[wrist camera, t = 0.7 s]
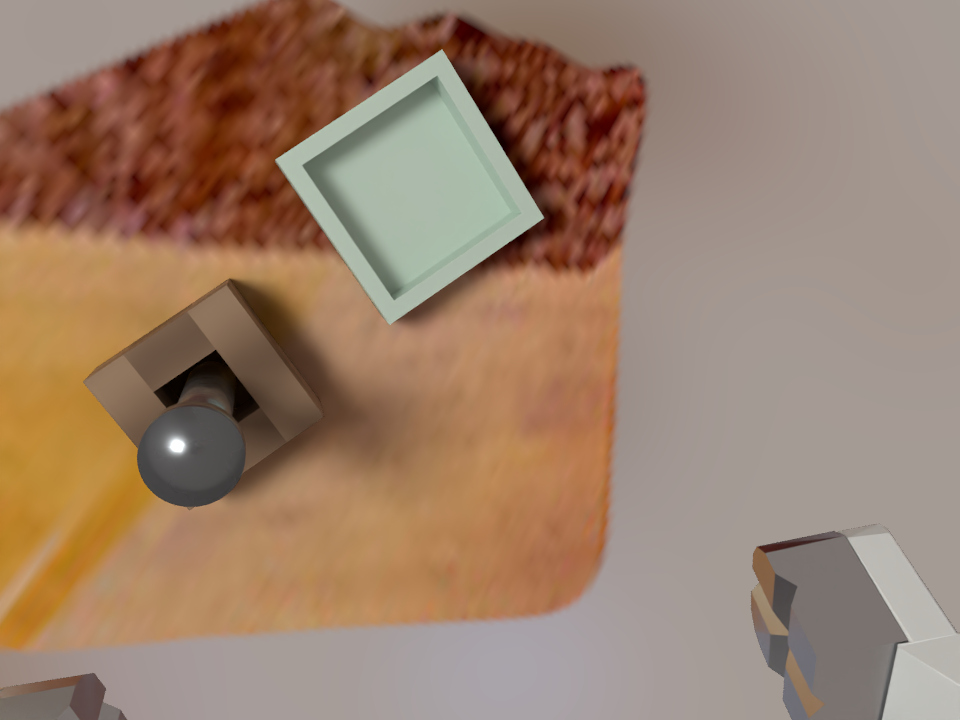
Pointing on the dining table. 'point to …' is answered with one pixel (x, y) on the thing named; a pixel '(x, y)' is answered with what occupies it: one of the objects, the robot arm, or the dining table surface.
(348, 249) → the tray
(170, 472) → the pin
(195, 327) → the socket block
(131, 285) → the dining table surface
